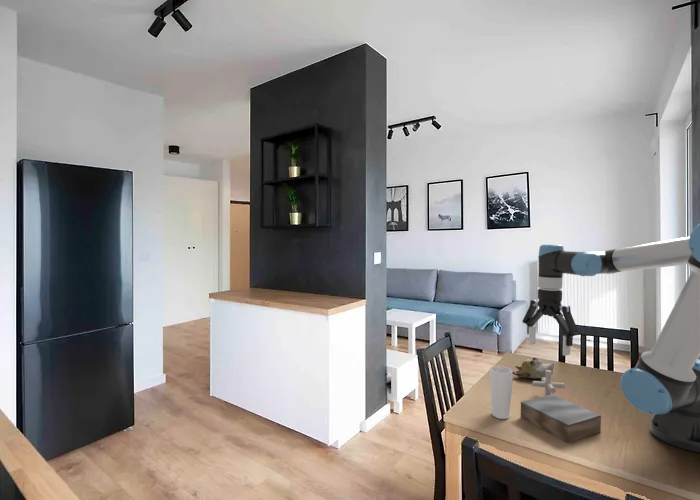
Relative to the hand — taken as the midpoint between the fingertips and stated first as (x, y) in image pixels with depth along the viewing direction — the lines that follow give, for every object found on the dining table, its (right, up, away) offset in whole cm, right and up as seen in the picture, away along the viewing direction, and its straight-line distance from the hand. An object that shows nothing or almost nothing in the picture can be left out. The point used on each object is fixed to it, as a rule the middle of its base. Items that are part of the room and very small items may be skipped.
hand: (548, 349), depth 132 cm
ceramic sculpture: (+5, -17, +20) cm, 27 cm away
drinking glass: (-22, -18, -12) cm, 31 cm away
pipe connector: (0, -18, 0) cm, 18 cm away
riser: (-6, -18, -18) cm, 26 cm away
